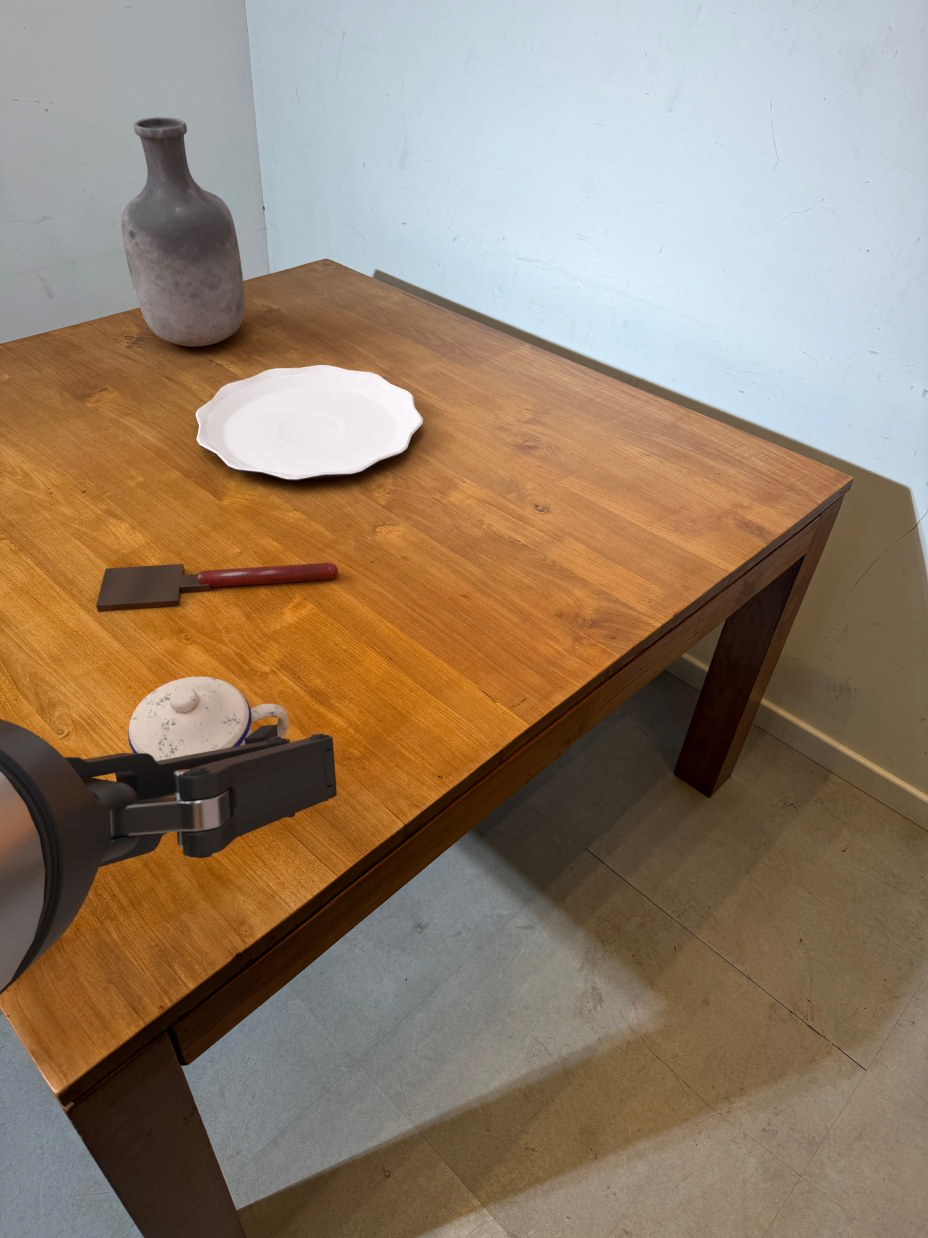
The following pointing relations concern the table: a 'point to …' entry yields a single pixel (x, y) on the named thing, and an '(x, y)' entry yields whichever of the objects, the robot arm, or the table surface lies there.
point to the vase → (181, 246)
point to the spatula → (192, 582)
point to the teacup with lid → (196, 718)
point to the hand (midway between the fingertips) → (129, 765)
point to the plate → (308, 422)
